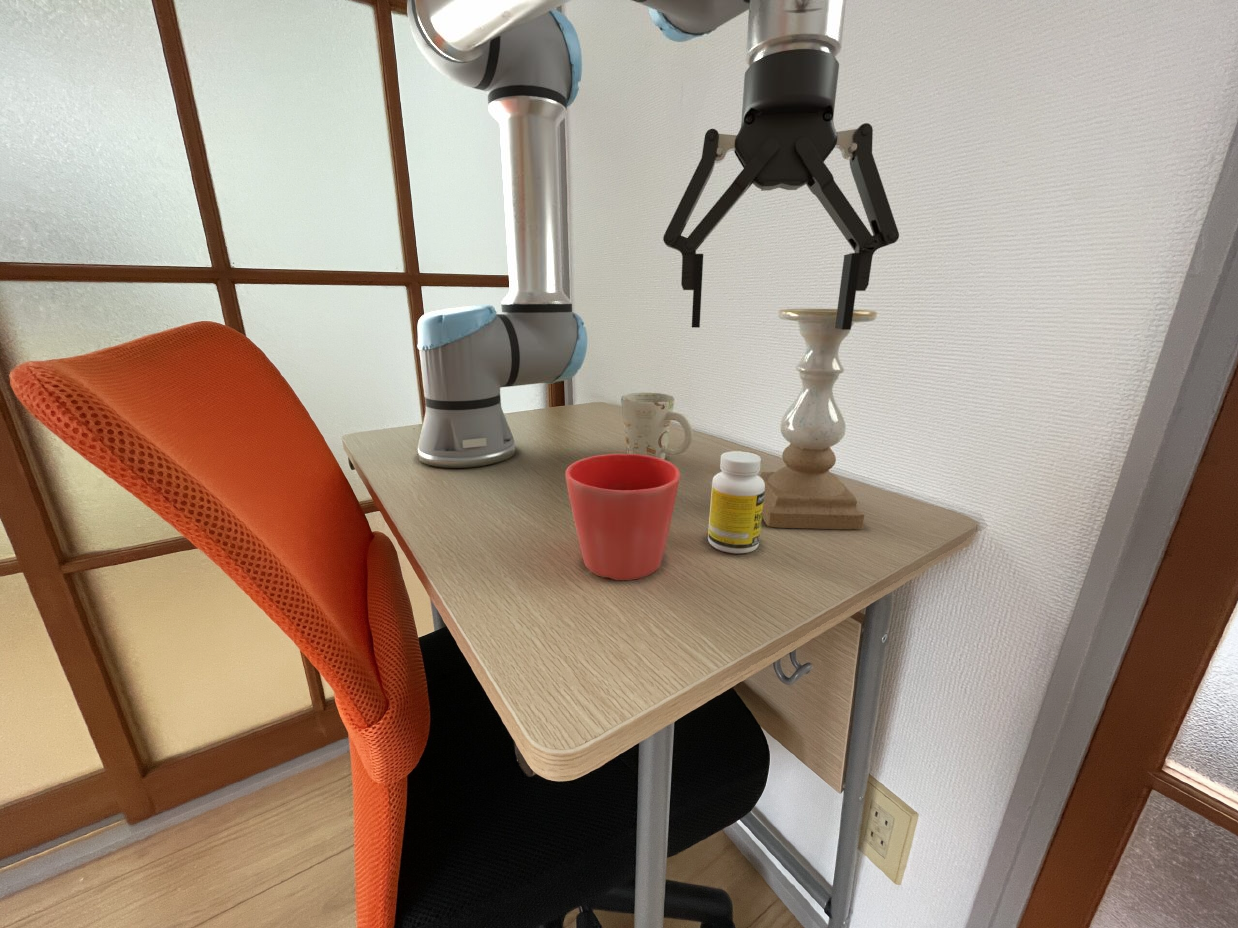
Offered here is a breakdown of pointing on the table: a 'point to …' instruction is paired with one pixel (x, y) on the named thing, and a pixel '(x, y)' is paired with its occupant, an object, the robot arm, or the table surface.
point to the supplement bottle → (736, 503)
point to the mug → (651, 424)
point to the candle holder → (813, 434)
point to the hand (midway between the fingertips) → (767, 328)
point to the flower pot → (622, 512)
